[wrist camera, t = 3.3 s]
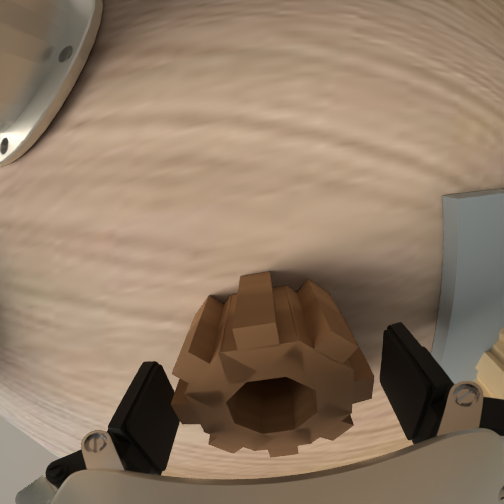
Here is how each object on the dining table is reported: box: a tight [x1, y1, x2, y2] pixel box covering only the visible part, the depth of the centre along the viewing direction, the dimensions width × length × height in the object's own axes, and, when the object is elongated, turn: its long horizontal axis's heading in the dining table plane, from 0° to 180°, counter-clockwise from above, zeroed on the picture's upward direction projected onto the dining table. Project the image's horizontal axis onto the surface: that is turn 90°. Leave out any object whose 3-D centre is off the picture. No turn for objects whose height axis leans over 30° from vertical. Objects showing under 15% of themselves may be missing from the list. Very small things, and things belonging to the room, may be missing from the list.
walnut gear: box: [171, 271, 374, 457], centre depth 10 cm, size 7×7×4 cm
